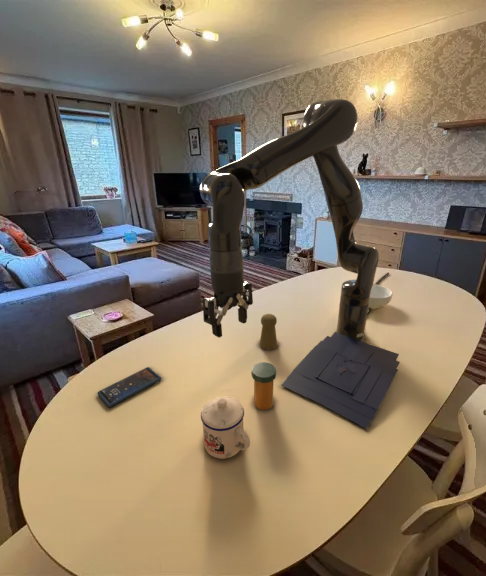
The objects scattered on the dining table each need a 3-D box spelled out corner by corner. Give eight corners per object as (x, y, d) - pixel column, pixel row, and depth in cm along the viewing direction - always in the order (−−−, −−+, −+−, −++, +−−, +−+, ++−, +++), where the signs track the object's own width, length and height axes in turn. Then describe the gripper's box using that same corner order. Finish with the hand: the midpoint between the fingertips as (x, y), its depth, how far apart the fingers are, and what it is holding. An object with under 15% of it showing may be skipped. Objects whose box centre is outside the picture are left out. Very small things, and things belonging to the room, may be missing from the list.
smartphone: (161, 377, 87) (108, 406, 77) (162, 379, 87) (109, 408, 77) (148, 366, 92) (96, 391, 81) (148, 368, 92) (96, 394, 82)
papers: (404, 363, 92) (406, 354, 90) (366, 437, 72) (368, 426, 70) (329, 336, 106) (330, 328, 104) (280, 392, 86) (280, 382, 84)
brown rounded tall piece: (275, 350, 101) (276, 321, 96) (257, 348, 102) (257, 319, 97) (278, 340, 106) (279, 312, 102) (261, 339, 107) (261, 310, 103)
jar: (262, 393, 82) (262, 362, 78) (276, 401, 79) (277, 370, 75) (250, 403, 79) (250, 371, 75) (265, 412, 76) (265, 380, 72)
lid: (262, 364, 80) (262, 359, 79) (280, 374, 76) (280, 368, 75) (246, 376, 75) (246, 370, 75) (265, 386, 72) (265, 380, 71)
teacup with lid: (194, 443, 68) (190, 402, 63) (225, 419, 74) (223, 380, 69) (233, 478, 60) (231, 434, 56) (263, 448, 67) (263, 406, 62)
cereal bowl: (393, 302, 134) (396, 287, 132) (385, 317, 121) (388, 301, 119) (354, 294, 143) (356, 280, 140) (343, 307, 130) (344, 292, 127)
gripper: (214, 279, 62) (220, 347, 69) (259, 261, 72) (261, 322, 79) (191, 272, 67) (198, 336, 73) (236, 256, 77) (239, 313, 83)
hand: (230, 328), depth 76 cm, fingers open, 8 cm apart
